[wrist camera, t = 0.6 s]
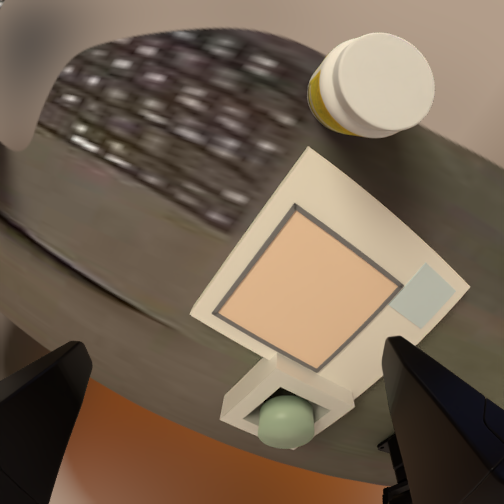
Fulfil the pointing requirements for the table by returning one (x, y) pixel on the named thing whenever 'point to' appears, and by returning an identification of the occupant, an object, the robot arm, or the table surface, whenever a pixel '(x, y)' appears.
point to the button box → (292, 379)
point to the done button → (286, 422)
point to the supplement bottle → (372, 87)
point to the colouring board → (328, 279)
